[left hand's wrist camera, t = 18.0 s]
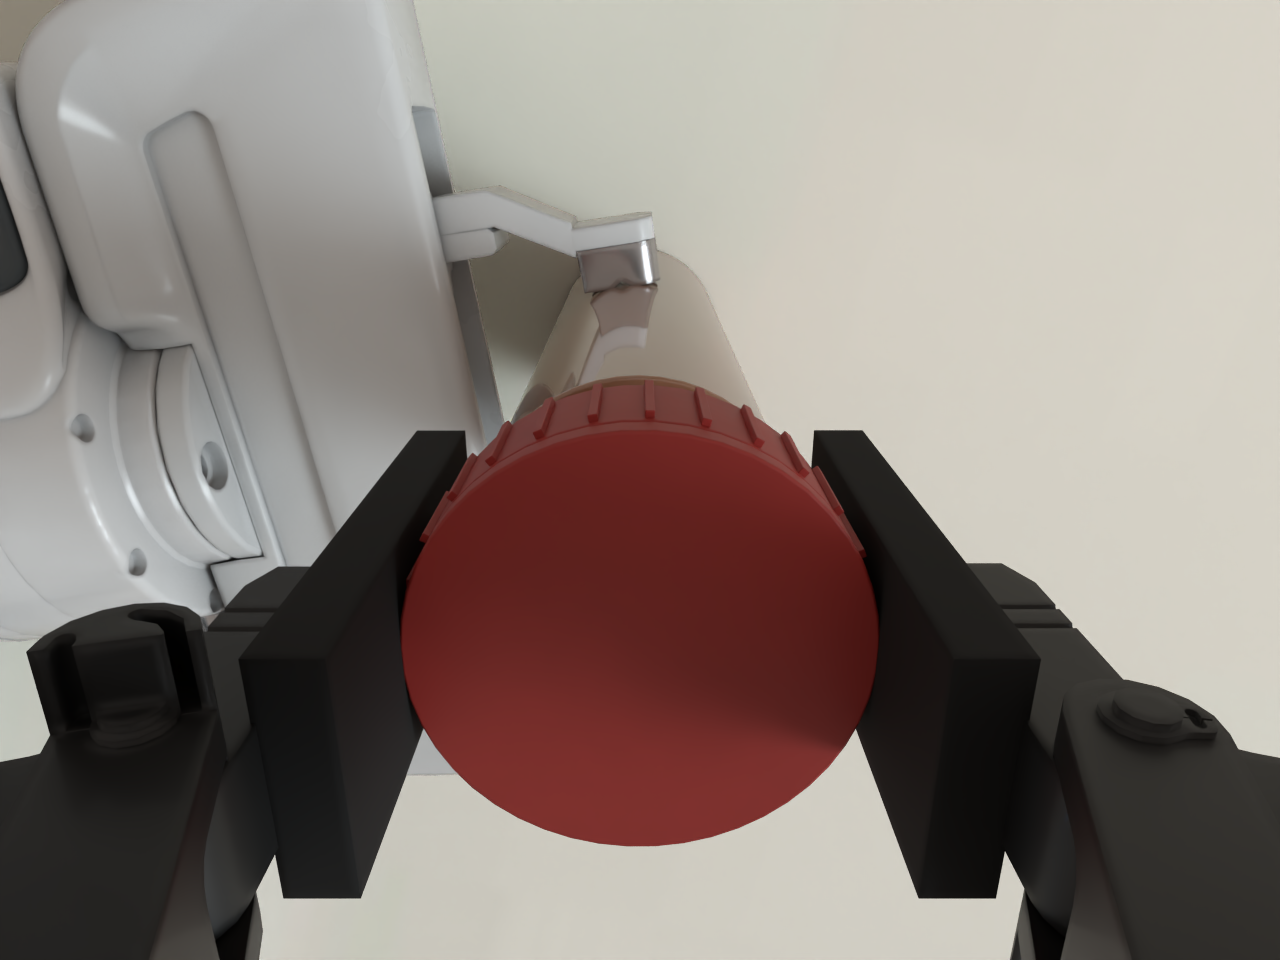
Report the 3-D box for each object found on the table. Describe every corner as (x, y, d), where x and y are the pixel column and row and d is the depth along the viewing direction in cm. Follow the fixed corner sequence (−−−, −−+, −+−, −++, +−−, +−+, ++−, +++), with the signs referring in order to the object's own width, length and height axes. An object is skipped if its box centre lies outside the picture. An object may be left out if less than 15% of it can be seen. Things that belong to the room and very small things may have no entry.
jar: (544, 270, 27) (404, 462, 11) (694, 230, 26) (779, 368, 10) (586, 413, 28) (520, 763, 12) (727, 377, 28) (846, 691, 12)
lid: (846, 741, 13) (880, 838, 11) (462, 765, 13) (433, 864, 11) (852, 362, 11) (894, 405, 9) (397, 394, 11) (350, 443, 9)
